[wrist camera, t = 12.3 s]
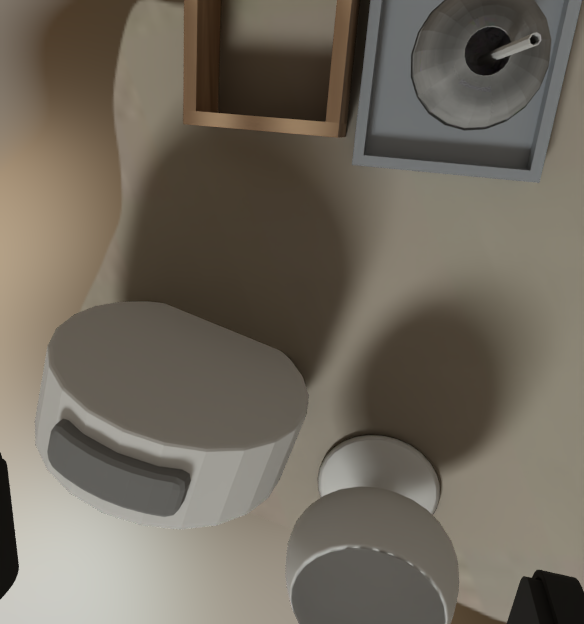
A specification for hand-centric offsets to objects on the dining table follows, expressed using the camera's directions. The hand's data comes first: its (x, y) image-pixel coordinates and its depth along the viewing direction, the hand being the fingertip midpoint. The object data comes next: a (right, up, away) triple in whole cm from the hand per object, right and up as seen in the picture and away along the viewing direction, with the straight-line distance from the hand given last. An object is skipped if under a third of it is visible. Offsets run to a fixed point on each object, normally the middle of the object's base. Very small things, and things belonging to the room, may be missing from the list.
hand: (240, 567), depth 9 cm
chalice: (+10, -13, +44) cm, 47 cm away
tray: (+13, +22, +31) cm, 40 cm away
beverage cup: (+14, +22, +30) cm, 40 cm away
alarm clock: (-7, 0, +43) cm, 44 cm away
